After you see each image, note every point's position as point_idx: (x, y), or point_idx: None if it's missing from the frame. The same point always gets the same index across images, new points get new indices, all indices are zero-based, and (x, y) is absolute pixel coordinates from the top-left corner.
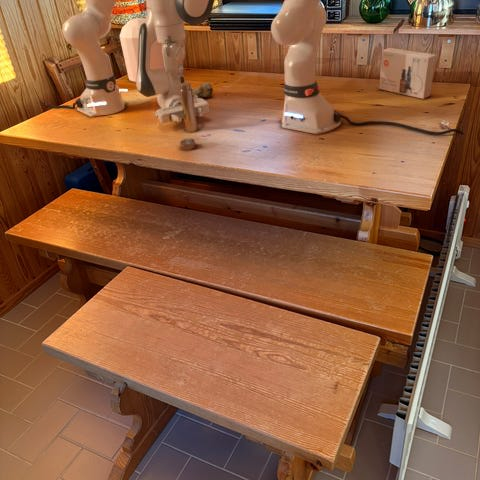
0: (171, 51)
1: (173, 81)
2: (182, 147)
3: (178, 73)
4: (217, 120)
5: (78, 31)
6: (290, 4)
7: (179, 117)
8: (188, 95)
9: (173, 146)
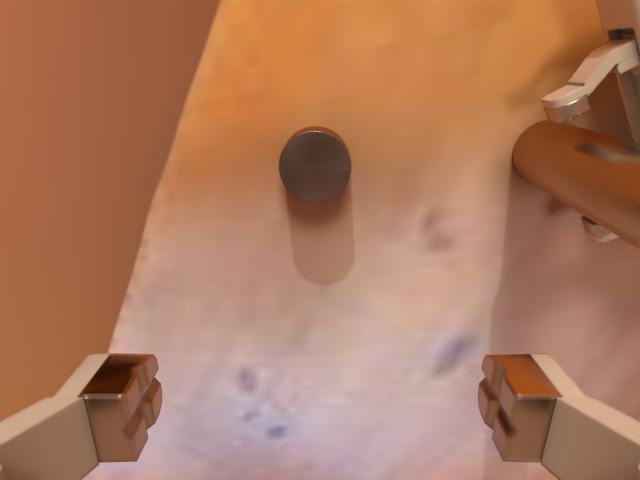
0: None
1: (74, 375)
2: (288, 140)
3: (503, 384)
4: (620, 267)
5: None
6: None
7: (559, 112)
8: (633, 235)
9: (339, 82)
